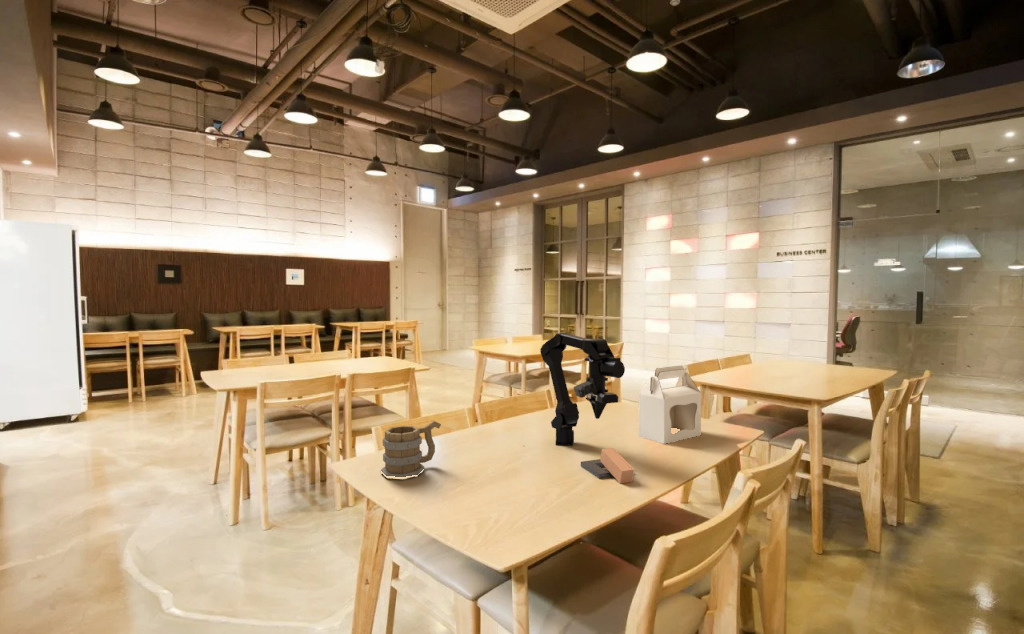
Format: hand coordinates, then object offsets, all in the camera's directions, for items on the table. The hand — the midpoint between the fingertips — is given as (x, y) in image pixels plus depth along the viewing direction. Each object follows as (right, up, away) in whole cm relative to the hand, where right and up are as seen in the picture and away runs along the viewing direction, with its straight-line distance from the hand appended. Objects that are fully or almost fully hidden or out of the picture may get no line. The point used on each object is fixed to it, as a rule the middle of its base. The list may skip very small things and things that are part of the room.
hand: (597, 418), depth 169 cm
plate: (0, -14, -15) cm, 20 cm away
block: (0, -8, -15) cm, 17 cm away
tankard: (-62, -14, -14) cm, 65 cm away
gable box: (+33, -12, +23) cm, 42 cm away
